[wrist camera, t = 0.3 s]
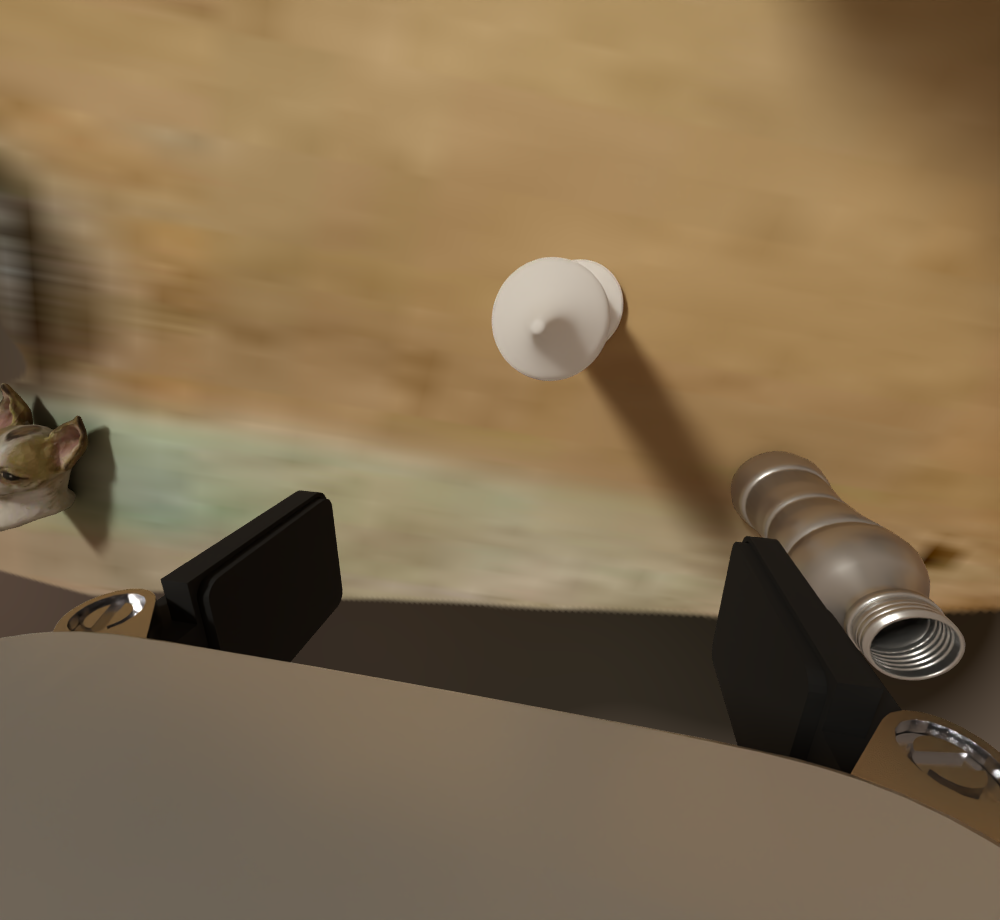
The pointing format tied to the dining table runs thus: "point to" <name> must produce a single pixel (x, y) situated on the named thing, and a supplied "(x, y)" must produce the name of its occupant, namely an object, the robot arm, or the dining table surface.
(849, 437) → the dining table surface
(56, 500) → the ceramic sculpture
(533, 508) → the dining table surface
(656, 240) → the dining table surface
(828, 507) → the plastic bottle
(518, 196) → the dining table surface
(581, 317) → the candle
